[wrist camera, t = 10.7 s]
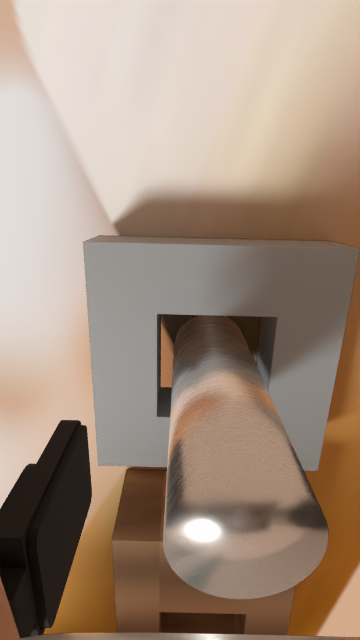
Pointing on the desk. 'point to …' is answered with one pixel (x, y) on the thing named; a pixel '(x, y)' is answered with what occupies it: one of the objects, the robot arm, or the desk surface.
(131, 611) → the brown wooden block
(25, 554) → the robot arm
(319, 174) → the desk surface
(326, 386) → the seat block
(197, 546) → the axle peg
